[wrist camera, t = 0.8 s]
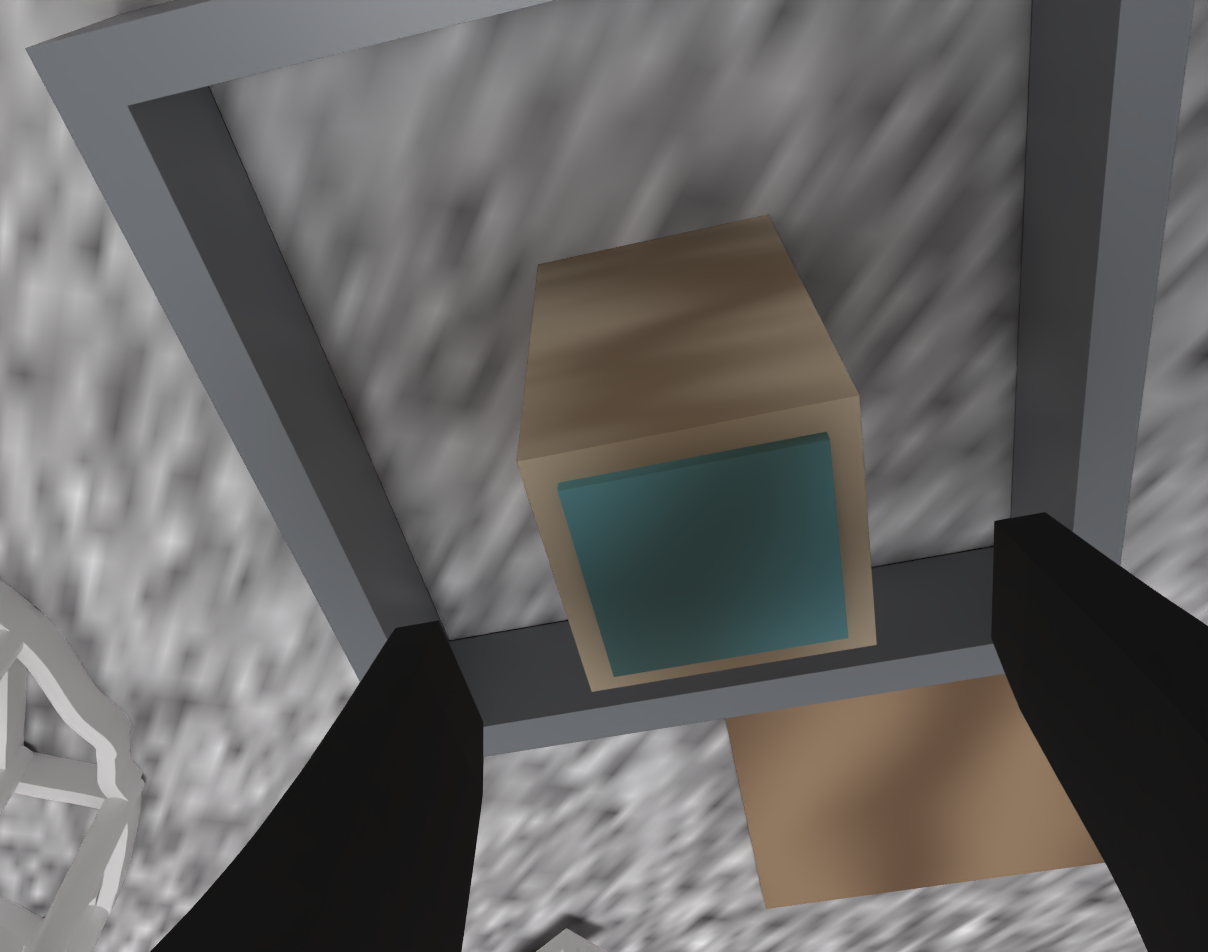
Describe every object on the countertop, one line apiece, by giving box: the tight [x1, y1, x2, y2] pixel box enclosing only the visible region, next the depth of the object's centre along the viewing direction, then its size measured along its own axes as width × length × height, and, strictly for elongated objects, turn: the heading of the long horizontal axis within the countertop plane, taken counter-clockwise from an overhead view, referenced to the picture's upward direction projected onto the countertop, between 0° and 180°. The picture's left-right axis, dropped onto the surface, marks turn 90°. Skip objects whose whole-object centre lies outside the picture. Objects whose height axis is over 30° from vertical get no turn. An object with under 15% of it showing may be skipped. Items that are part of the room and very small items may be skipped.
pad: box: [726, 674, 1105, 909], centre depth 27 cm, size 11×11×1 cm
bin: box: [25, 0, 1194, 757], centre depth 18 cm, size 16×16×3 cm
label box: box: [517, 215, 877, 692], centre depth 16 cm, size 4×4×7 cm
